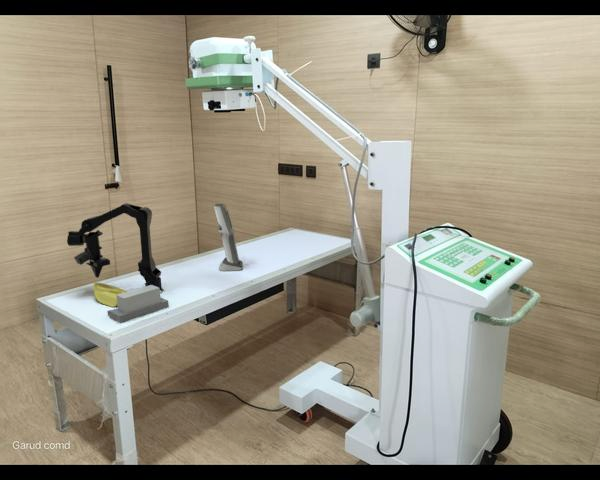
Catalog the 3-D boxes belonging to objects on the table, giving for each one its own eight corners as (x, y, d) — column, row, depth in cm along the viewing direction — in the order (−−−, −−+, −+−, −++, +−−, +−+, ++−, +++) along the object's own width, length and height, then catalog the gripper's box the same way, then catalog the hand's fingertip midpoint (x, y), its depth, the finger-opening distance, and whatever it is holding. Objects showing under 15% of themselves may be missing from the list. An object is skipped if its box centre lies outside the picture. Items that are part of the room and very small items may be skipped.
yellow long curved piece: (137, 294, 215) (120, 291, 207) (132, 310, 214) (115, 308, 206) (109, 284, 225) (91, 281, 217) (104, 300, 224) (86, 297, 216)
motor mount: (154, 300, 213) (151, 280, 211) (168, 307, 205) (166, 286, 203) (106, 315, 198) (103, 294, 196) (120, 323, 190) (117, 301, 188)
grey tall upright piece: (219, 265, 264) (215, 202, 256) (243, 264, 265) (239, 202, 257) (218, 271, 253) (213, 206, 245) (242, 270, 254) (238, 205, 246)
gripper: (66, 245, 221) (71, 277, 225) (84, 252, 208) (88, 285, 212) (90, 241, 229) (94, 272, 232) (108, 246, 216) (112, 279, 220)
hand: (97, 277), depth 224 cm, fingers closed
